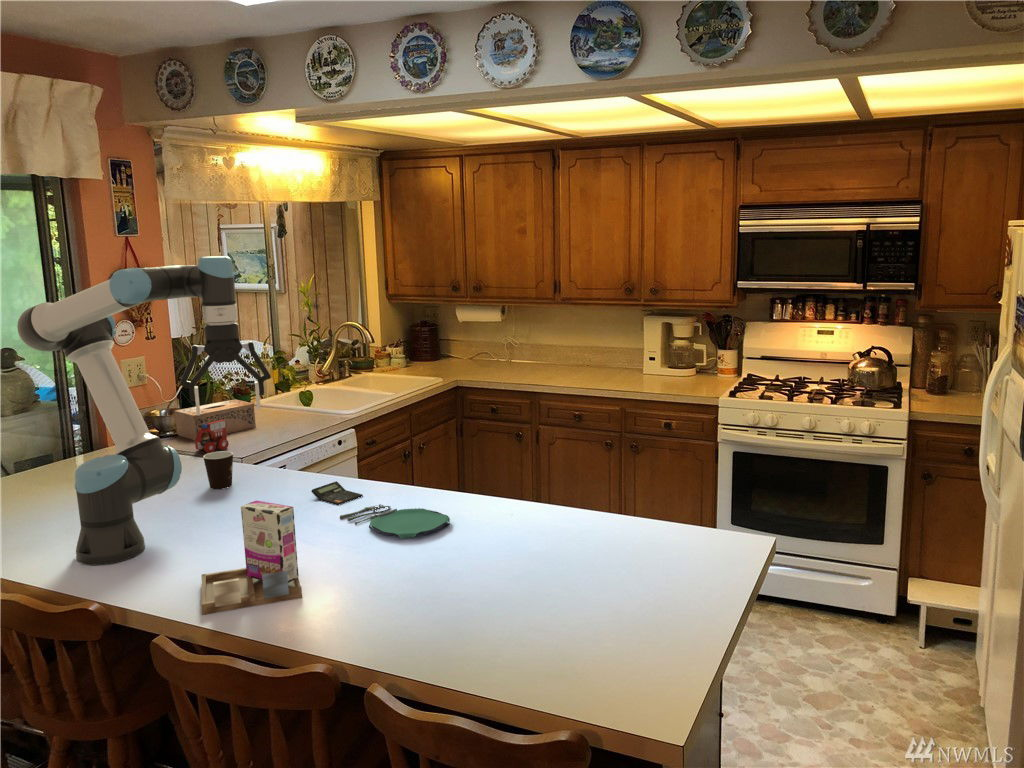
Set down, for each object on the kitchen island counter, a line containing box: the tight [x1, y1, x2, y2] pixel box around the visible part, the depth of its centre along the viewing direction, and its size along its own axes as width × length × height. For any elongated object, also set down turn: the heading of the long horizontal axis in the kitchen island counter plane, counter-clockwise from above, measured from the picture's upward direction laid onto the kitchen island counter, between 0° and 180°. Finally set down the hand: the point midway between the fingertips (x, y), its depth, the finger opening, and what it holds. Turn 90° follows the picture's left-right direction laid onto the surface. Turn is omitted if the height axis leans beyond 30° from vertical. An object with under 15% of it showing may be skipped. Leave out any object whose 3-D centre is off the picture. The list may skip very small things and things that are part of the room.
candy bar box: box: [240, 500, 300, 583], centre depth 174 cm, size 11×5×16 cm, turn 62°
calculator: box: [311, 481, 363, 506], centre depth 235 cm, size 9×12×3 cm
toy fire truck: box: [194, 420, 229, 454], centre depth 290 cm, size 7×12×10 cm, turn 141°
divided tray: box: [200, 567, 303, 616], centre depth 174 cm, size 20×16×6 cm
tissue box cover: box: [174, 399, 257, 441], centre depth 318 cm, size 26×14×10 cm, turn 139°
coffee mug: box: [202, 450, 234, 490], centre depth 248 cm, size 12×9×10 cm
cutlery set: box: [339, 503, 451, 539], centre depth 213 cm, size 20×30×2 cm, turn 49°
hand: (229, 411), depth 191 cm, fingers open, 13 cm apart
